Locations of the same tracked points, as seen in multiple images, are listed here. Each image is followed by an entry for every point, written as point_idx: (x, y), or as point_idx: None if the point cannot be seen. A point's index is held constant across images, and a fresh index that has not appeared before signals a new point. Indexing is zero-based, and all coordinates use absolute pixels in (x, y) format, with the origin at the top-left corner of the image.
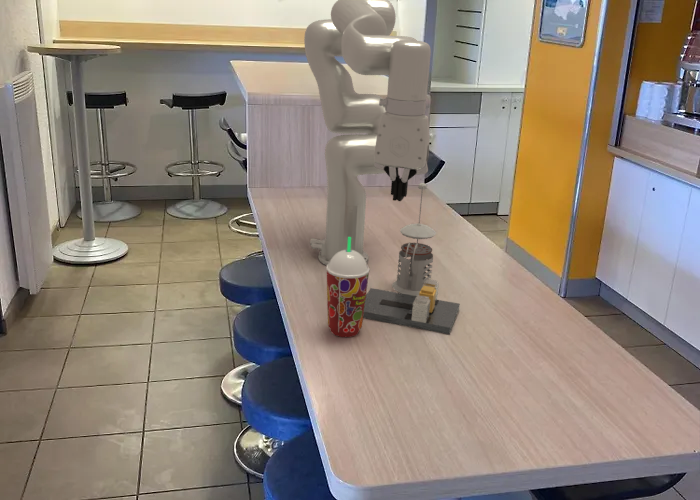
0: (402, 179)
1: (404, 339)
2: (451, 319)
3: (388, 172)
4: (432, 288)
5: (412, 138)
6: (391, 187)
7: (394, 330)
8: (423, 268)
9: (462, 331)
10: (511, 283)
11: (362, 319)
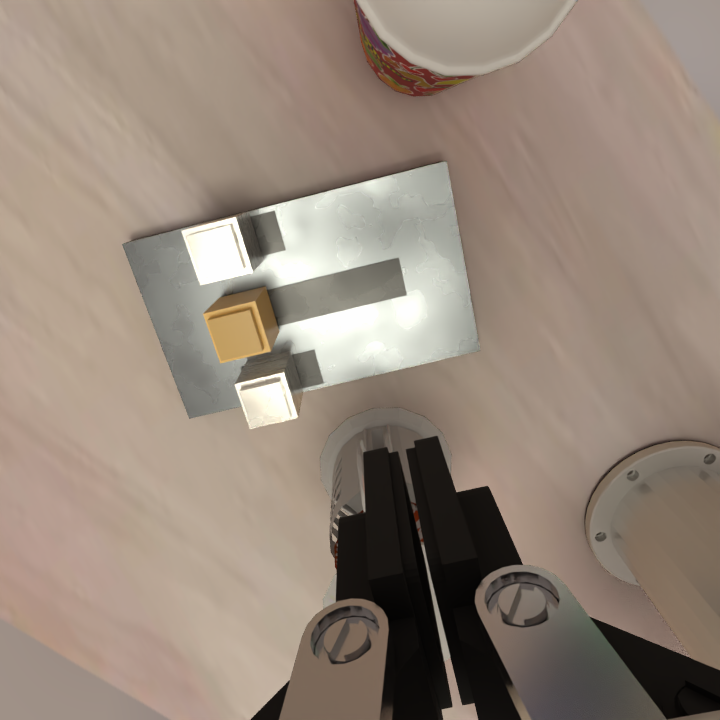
0: (378, 632)
1: (224, 113)
2: (150, 301)
3: (641, 671)
4: (224, 348)
5: None
6: (501, 525)
7: (283, 152)
8: (341, 488)
9: (112, 285)
10: (165, 643)
11: (363, 45)
